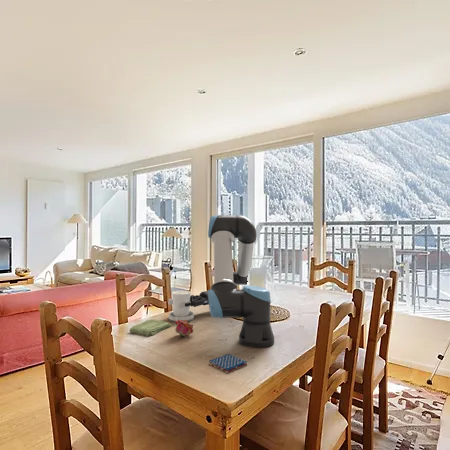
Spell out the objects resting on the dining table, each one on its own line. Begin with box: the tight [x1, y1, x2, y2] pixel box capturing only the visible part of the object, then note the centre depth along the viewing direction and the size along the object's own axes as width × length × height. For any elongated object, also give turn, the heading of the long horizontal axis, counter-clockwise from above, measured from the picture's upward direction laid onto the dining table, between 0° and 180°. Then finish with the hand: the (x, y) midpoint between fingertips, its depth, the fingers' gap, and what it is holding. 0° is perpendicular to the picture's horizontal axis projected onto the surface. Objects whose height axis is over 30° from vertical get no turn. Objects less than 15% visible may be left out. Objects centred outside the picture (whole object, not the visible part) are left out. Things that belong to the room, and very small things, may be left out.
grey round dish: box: [168, 310, 195, 323], centre depth 176 cm, size 13×13×3 cm
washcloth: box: [129, 318, 172, 337], centre depth 158 cm, size 13×18×3 cm
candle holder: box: [171, 290, 192, 317], centre depth 176 cm, size 10×10×12 cm
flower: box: [174, 320, 194, 339], centre depth 147 cm, size 10×9×8 cm
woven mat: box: [208, 353, 248, 374], centre depth 119 cm, size 10×11×2 cm
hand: (173, 303), depth 173 cm, fingers closed on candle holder, 9 cm apart
